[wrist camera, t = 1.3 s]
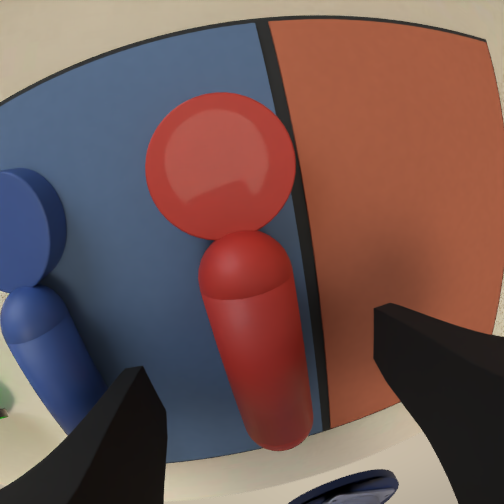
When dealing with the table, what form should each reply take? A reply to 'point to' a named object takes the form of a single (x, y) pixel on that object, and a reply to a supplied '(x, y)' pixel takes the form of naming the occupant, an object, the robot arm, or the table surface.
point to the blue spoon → (41, 300)
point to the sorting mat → (293, 212)
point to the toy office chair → (3, 413)
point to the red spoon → (239, 250)
